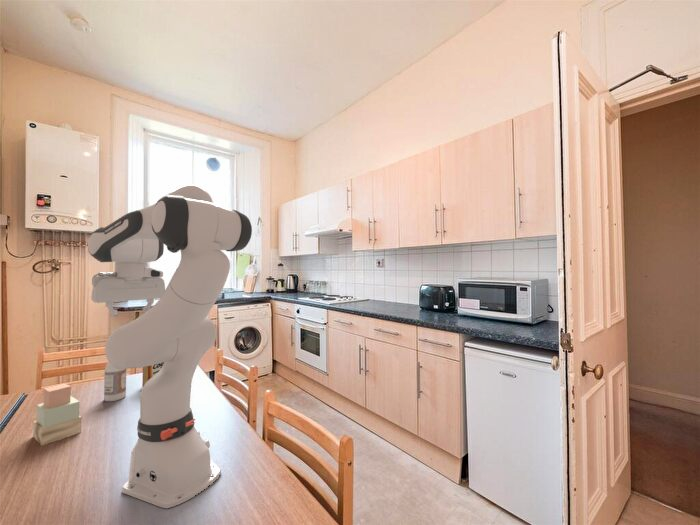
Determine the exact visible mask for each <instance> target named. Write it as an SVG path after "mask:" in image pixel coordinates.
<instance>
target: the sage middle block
mask: <svg viewBox="0 0 700 525" xmlns="http://www.w3.org/2000/svg"><path fill="white" fill-rule="evenodd" d="M36 408H37V409H36V420H37V422H38V423H39V424H40V425H41V426H42V427H43V428H47V427H50V426H53V425H56V424H59V423H63V422H66V421H69V420H72V419H75V418H78V417H79V415H80V400H78V399H77V398H75V397H73V396H72V395H71V396H70V403H66V404H63V405H59V406H56V407H52V408H47V407H46V406H44V405H43V402H42V403H39V404H37V406H36Z"/></svg>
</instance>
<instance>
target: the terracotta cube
mask: <svg viewBox="0 0 700 525" xmlns="http://www.w3.org/2000/svg"><path fill="white" fill-rule="evenodd" d="M71 389H72V386H71V385H69V384H67V383H61V384H57V385H53V386H49V387H44V388H43V401H42V403H43V405H44V406H46V407H47V408H52V407H56V406H59V405H63V404H66V403H70V396H72V395H71V392H72V391H71Z"/></svg>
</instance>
